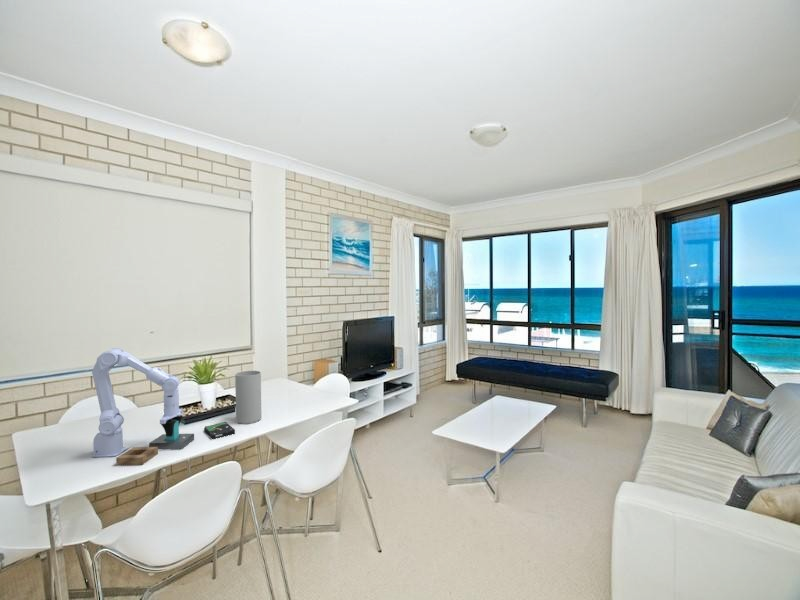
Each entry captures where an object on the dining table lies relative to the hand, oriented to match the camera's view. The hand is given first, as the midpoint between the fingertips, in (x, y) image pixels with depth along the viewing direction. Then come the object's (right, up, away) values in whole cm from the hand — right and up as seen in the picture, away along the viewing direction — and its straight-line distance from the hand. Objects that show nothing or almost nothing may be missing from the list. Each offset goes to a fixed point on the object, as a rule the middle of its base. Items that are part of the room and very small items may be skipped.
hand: (172, 434), depth 166 cm
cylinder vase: (+22, -4, +31) cm, 38 cm away
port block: (0, -5, 0) cm, 5 cm away
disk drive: (+14, -5, +14) cm, 21 cm away
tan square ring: (-5, -5, -14) cm, 16 cm away
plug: (0, -5, 0) cm, 5 cm away
